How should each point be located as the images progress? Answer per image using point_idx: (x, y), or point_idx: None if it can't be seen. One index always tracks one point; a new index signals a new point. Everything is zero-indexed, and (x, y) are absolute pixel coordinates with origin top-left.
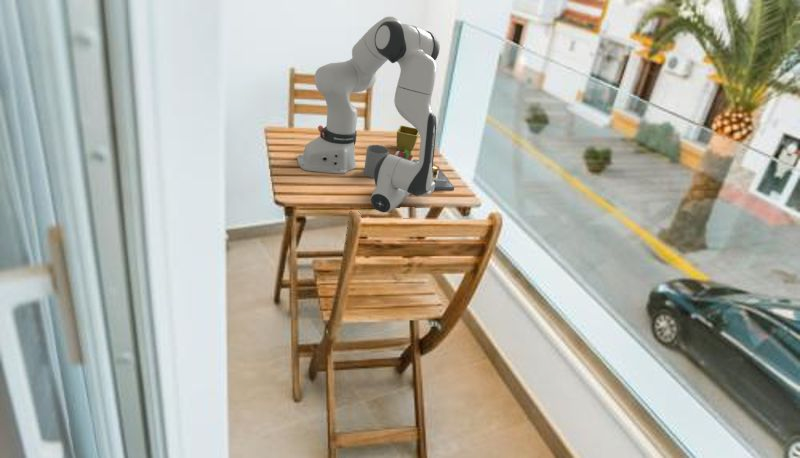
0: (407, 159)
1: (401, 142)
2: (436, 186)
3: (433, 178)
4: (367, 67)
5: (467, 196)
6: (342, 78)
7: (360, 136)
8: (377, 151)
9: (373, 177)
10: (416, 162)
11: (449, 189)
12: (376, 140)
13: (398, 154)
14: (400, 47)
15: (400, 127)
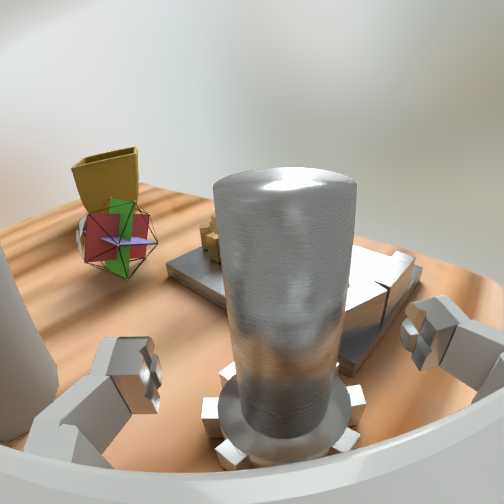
0: (134, 237)
1: (96, 196)
2: (388, 313)
3: None
4: None
5: (479, 280)
6: None
7: (7, 236)
8: None
9: (1, 440)
10: (298, 193)
11: (413, 288)
12: (41, 227)
13: (87, 231)
14: None
15: (82, 161)
